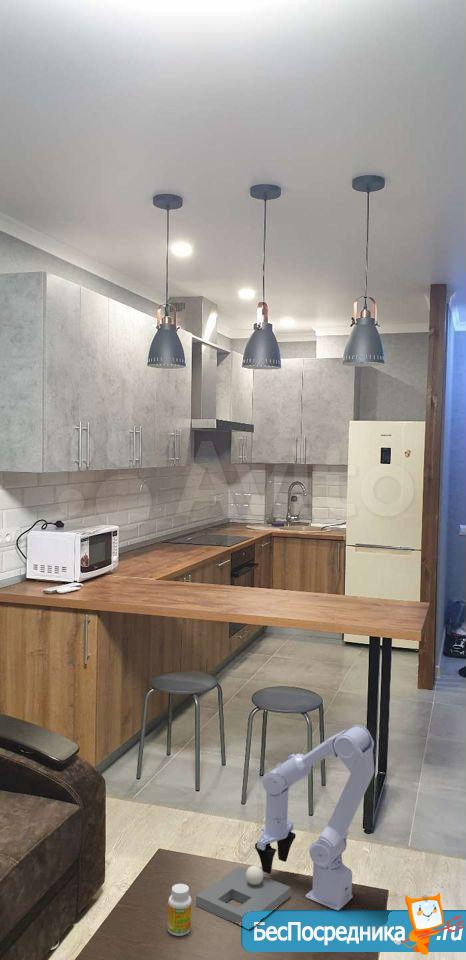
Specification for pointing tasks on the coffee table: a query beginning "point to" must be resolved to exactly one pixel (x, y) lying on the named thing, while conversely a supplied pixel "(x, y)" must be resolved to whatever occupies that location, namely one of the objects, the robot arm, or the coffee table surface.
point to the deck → (241, 895)
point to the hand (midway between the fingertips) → (274, 866)
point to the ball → (254, 875)
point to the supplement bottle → (179, 910)
